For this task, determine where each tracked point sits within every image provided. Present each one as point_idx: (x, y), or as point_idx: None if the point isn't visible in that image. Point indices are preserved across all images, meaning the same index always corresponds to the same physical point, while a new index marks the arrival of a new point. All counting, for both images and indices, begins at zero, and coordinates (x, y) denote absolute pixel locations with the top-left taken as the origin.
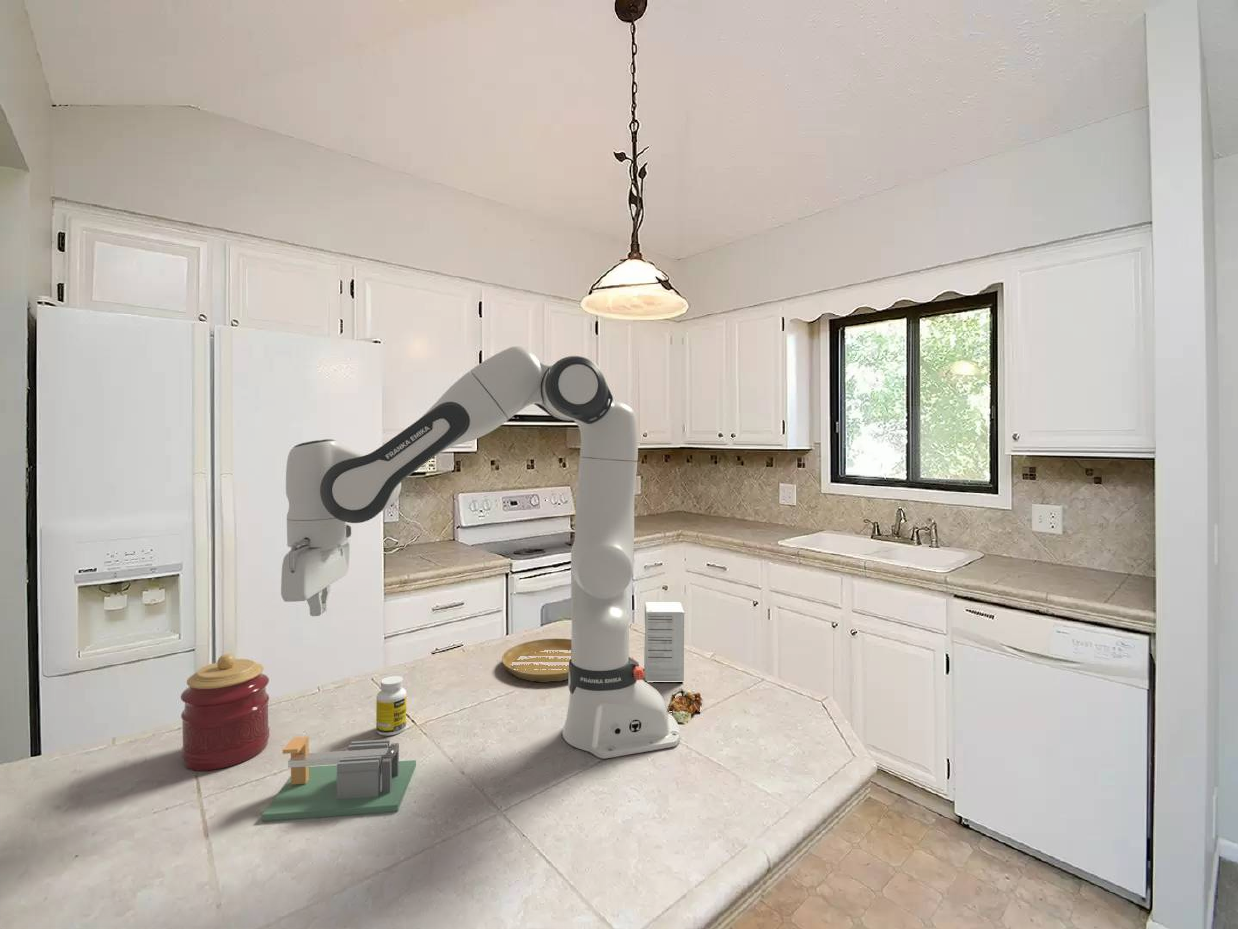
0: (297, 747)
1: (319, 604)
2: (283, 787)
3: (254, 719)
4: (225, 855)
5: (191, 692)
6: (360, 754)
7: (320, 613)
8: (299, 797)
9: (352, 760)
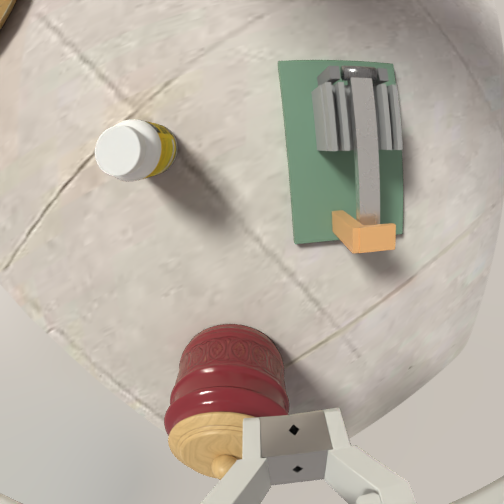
0: (390, 228)
1: (364, 452)
2: None
3: (246, 359)
4: (443, 238)
5: None
6: (370, 121)
7: (339, 412)
8: None
9: (390, 128)
